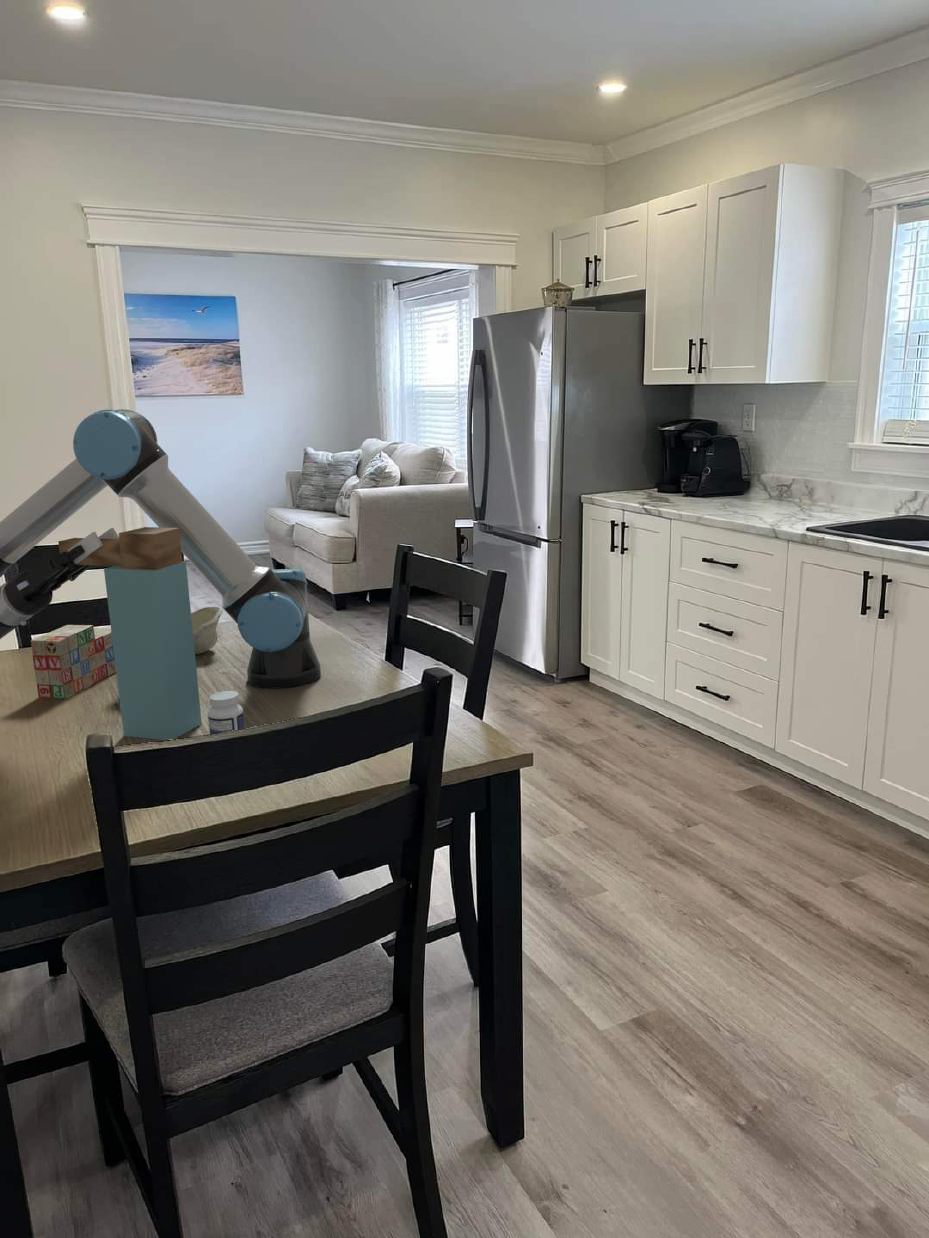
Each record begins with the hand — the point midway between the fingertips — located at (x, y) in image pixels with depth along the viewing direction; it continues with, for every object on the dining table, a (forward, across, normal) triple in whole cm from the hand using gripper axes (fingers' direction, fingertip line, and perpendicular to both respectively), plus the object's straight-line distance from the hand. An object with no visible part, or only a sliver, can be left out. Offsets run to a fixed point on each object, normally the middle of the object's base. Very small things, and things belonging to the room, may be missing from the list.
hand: (106, 537), depth 161 cm
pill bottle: (+4, +6, -43) cm, 43 cm away
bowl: (-32, -46, -22) cm, 60 cm away
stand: (-11, 0, -34) cm, 35 cm away
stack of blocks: (-41, -20, -17) cm, 49 cm away
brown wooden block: (-1, 0, -5) cm, 5 cm away
